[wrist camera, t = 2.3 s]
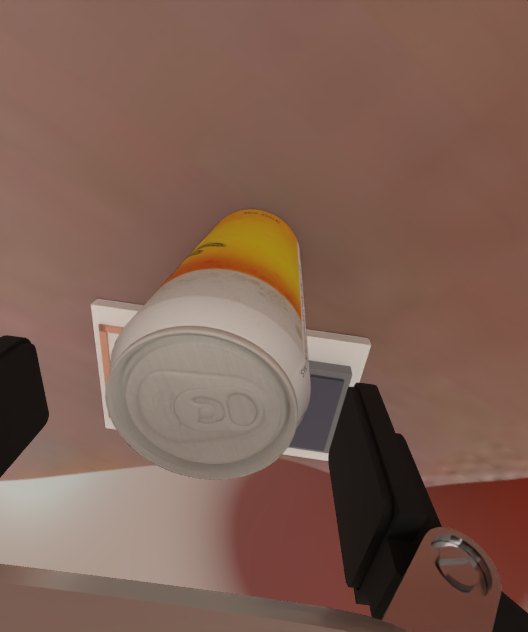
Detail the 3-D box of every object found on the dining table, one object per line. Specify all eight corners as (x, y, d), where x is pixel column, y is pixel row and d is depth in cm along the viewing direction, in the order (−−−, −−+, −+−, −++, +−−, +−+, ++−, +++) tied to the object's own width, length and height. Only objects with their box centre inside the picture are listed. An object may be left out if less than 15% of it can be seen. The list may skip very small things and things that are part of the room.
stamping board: (368, 338, 25) (375, 355, 23) (332, 452, 30) (335, 474, 28) (97, 298, 25) (80, 312, 23) (111, 419, 30) (98, 439, 28)
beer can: (202, 210, 22) (57, 320, 8) (298, 203, 21) (311, 311, 8) (215, 298, 24) (123, 487, 11) (301, 294, 24) (314, 490, 10)
